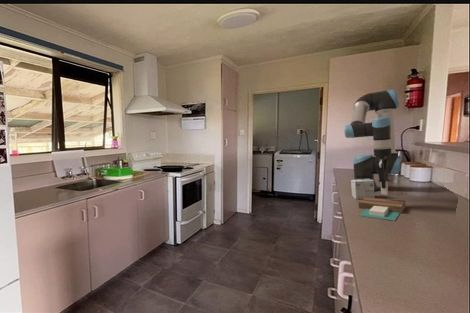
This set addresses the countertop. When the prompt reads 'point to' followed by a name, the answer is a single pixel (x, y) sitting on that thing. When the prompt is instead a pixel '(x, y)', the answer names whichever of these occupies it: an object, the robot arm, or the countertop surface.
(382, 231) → the countertop surface
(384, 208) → the cream rectangular block
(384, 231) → the countertop surface
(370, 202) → the brown flat wooden board
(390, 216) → the mat
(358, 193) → the light bulb box
